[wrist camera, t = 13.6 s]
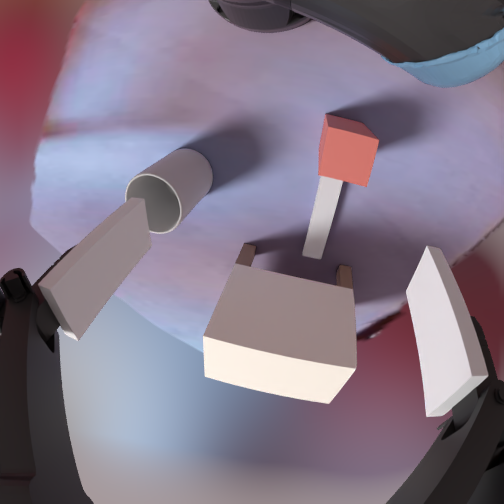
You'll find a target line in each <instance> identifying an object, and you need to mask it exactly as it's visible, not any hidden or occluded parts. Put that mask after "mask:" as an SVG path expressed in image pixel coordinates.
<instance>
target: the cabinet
mask: <svg viewBox="0 0 504 504" xmlns="http://www.w3.org/2000/svg"><path fill="white" fill-rule="evenodd" d="M255 250H256V246H254V245H249V244H245V243H244V245H243V247H242V249H241V251H240V254H239V256H238V258H237V260H236V263H235V265H234V267H233V269H232V272H231V274H230V276H229V278H228V281H227V283H226V285H225V287H224V290H223V292H222V294H221V296H220V299H219V301H218V303H217V306H216V308H215V310H214V312H213V315H212V317H211V319H210V321H209V324H208V326H207V328H206V331H205V333H204V335H203V345H204V365H205V377H208V378H212V379H215V380H219V381H222V382H226V383H230V384H234V385H238V386H242V387H245V388H250V389H254V390H258V391H263V392H267V393H272V394H277V395H281V396H287V397H292V398H297V399H303V400H309V401H316V402H322V403H330V402H331V400H332V399H333V398H334V397H335V395H336V394H337V393H338V392H339V391H340V389H341V388H342V387H343V385H344V384H345V383H346V382H347V380H348V379H349V378H350V376H351V375H352V373H353V372H354V371H355V370H356V366H357V351H356V320H355V303H354V295H353V282H352V270H351V267H349V266H344V265H339V268H338V271H337V273H336V281H337V286H335V285H330V284H326V283H321V282H317V281H312V280H307V279H303V278H298V277H294V276H289V275H285V274H280V273H276V272H271V271H267V270H262V269H258V268H254V267H251V264H252V262H253V259H254V256H255Z"/></svg>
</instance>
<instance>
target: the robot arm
mask: <svg viewBox="0 0 504 504" xmlns="http://www.w3.org/2000/svg"><path fill="white" fill-rule="evenodd" d="M209 2H210V4H211V6H212V7H213V9H214V10H215V11H216V12H217V13H218V14H219V15H220V16H221V17H222V18H224V19H225V20H227V21H228V22H230V23H232V24H234V25H236V26H238V27H240V28H243V29H245V30H249V31H254V32H261V33H274V32H282V31H287V30H290V29H293V28H296V27H298V26H301V25H303V24H304V23H306V22H308V21H309V20H311V19H313V20H316V21H318V22H320V23H322V24H324V25H327V26H329V27H331V28H333V29H335V30H337V31H339V32H341V33H343V34H345V35H347V36H349V37H351V38H352V39H354V40H356V41H358V42H360V43H361V44H363V45H365V46H367V47H368V48H370V49H372V50H374V51H375V52H377V53H378V54H380V55H381V57H382V58H383V59H384V60H385V61H386V62H388V63H390V64H392V65H395V66H397V67H400V68H402V69H404V70H405V71H407V72H408V73H410V74H411V75H413V76H414V77H416V78H417V79H418V80H420V81H422V82H423V83H426V84H429V85H433V86H436V87H441V88H449V87H457V86H461V85H465V84H468V83H470V82H473V81H475V80H477V79H479V78H481V77H483V76H485V75H486V74H488V73H489V72H491V71H492V70H494V69H495V68H496V67H498V66H499V65H500V64H501V63H502V62H503V61H504V0H209ZM151 246H152V244H151V238H150V232H149V226H148V220H147V213H146V207H145V200H144V199H142V198H133V197H131V198H130V199H129V200H128V201H127V202H125V203H124V204H123V205H122V206H120V207H119V208H118V209H117V210H116V211H114V212H113V213H112V214H111V215H110V216H109V217H107V218H106V219H105V220H104V221H103V222H102V223H101V224H99V225H98V226H97V227H96V228H95V229H94V230H93V231H92V232H90V233H89V234H88V235H87V236H86V237H85V238H84V239H83V240H82V241H81V242H80V243H79V244H77V245H76V246H74V247H72V248H70V249H69V250H67V251H66V252H65V253H64V254H63V255H62V256H61V257H60V259H58V260H57V261H56V262H55V263H54V265H52V266H51V267H50V268H49V269H48V270H47V271H46V272H45V273H44V274H43V275H42V276H41V277H40V278H39V279H38V280H37V281H36V282H35V283H34V285H33V286H31V284H30V282H29V280H28V278H27V276H26V274H25V272H24V270H23V269H21V268H16V269H13V270H10V271H8V272H7V273H6V274H5V275H4V276H3V277H2V278H1V279H0V287H1V288H0V504H94V503H93V502H92V501H91V499H90V498H89V497H88V496H87V495H86V493H85V492H84V490H83V487H82V485H81V481H80V478H79V474H78V470H77V467H76V463H75V459H74V455H73V451H72V446H71V441H70V437H69V431H68V426H67V419H66V414H65V407H64V399H63V391H62V380H61V368H60V350H59V334H58V332H57V329H58V327H59V326H61V328H62V329H63V331H64V333H65V334H66V335H67V336H70V337H71V338H73V339H75V340H78V341H79V340H80V338H81V337H82V335H83V334H84V333H85V331H86V330H87V328H88V327H89V326H90V324H91V323H92V322H93V320H94V318H95V317H96V316H97V315H98V313H99V312H100V311H101V309H102V308H103V306H104V305H105V304H106V303H107V301H108V300H109V299H110V297H111V296H112V295H113V293H114V292H115V291H116V290H117V288H118V287H119V286H120V284H121V283H122V282H123V281H124V279H125V278H126V277H127V276H128V274H129V273H130V272H131V271H132V269H133V268H134V267H135V266H136V264H137V263H138V262H139V261H140V260H141V258H142V257H143V256H144V255H145V254H146V252H147V251H148V250H149V249H150V248H151ZM1 289H2V290H1ZM2 291H3V292H2ZM3 293H4V294H3ZM406 295H407V299H408V303H409V307H410V311H411V316H412V321H413V325H414V330H415V336H416V341H417V346H418V352H419V358H420V365H421V371H422V379H423V387H424V396H425V407H426V417H429V416H443V415H444V414H446V413H447V412H448V411H449V410H450V409H452V412H453V416H452V417H450V418H449V419H448V420H446V421H445V422H444V423H442V424H441V425H440V426H439V427H438V428H437V429H438V430H439V429H441V428H442V427H444V428H443V429H442V431H441V432H440V434H439V436H438V437H437V439H436V440H435V442H434V443H433V445H432V446H431V448H430V449H429V451H428V452H427V453H426V455H425V456H424V458H423V459H422V460H421V462H420V463H419V464H418V466H417V467H416V468H415V470H414V471H413V473H412V474H411V475H410V476H409V477H408V479H407V480H406V481H405V482H404V483H403V485H402V486H401V487H400V488H399V489H398V490H397V492H396V493H395V494H394V495H393V496H392V497H391V498H390V500H389V501H388V502H387V503H386V504H504V382H503V381H501V380H498V379H497V375H496V371H495V367H494V364H493V360H492V357H491V354H490V351H489V349H488V345H487V341H486V340H485V335H484V333H483V330H482V327H481V326H480V324H479V323H478V321H477V320H476V318H475V317H473V316H470V315H469V312H468V309H467V307H466V304H465V302H464V299H463V297H462V294H461V292H460V290H459V287H458V285H457V283H456V280H455V278H454V276H453V274H452V272H451V269H450V267H449V265H448V263H447V261H446V259H445V257H444V255H443V253H442V251H441V249H440V248H436V247H432V246H426V249H425V251H424V253H423V256H422V258H421V260H420V262H419V265H418V267H417V269H416V271H415V273H414V275H413V278H412V280H411V282H410V284H409V286H408V288H407V290H406Z"/></svg>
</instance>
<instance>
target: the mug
mask: <svg viewBox="0 0 504 504" xmlns="http://www.w3.org/2000/svg"><path fill="white" fill-rule="evenodd" d="M212 182H213V172H212V168H211V166H210V164H209V162H208V161H207V159H206V158H205V157H204V156H203V155H202V154H200V153H199V152H197V151H195V150H192V149H185V148H184V149H178V150H175V151H173V152H171V153H170V154H168V155H167V156H165V157H164V158H162V159H161V160H159V161H158V162H156V163H154V164H153V165H151V166H150V167H148V168H147V169H145V170H143V171H142V172H140V173H139V174H137V175H136V176H135V177H134V178H133V179H131V181H130V182H129V184H128V186H127V188H126V193H125V200H126V202H127V201H128V200H129V199H130V198H131V197H133V198H142V199H144V200H145V207H146V213H147V220H148V226H149V231H150V232H153V233H158V234H163V233H168V232H170V231H172V230H174V229H175V228H176V227H177V226H178V225H179V224H180V223H181V222H182V221H183V220H184V218H185V217H186V216H187V215H188V214H189V213H190V212H191V210H192V209H193V208H194V207H195V206H196V205H197V204H198V202H199V201H200V200H201V199H202V198H203V197H204V196H205V195H206V194H207V193H208V191H209V190H210V188H211V186H212Z"/></svg>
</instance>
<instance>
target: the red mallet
mask: <svg viewBox="0 0 504 504" xmlns="http://www.w3.org/2000/svg"><path fill="white" fill-rule="evenodd" d="M378 143H379V139H378V138H377V137H376V136H375V135H374V134H373V133H372V132H371V131H370V130H369V129H368V128H367V127H366V126H365V125H364V124H363V123H361V122H357V121H354V120H350V119H346V118H342V117H338V116H333V115H329V114H325V119H324V125H323V130H322V135H321V140H320V145H319V171H318V175H320V176H321V177H320V181H319V186H318V190H317V194H316V199H315V203H314V207H313V211H312V216H311V220H310V224H309V228H308V232H307V236H306V240H305V244H304V248H303V253H302V256H307V257H311V258H316V259H320V260H321V257H322V254H323V251H324V247H325V244H326V241H327V237H328V234H329V231H330V227H331V224H332V220H333V217H334V213H335V210H336V206H337V202H338V199H339V195H340V191H341V187H342V183H343V181H345V182H349V183H353V184H357V185H361V186H365V187H367V184H368V181H369V177H370V174H371V170H372V166H373V163H374V159H375V155H376V151H377V147H378Z"/></svg>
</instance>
